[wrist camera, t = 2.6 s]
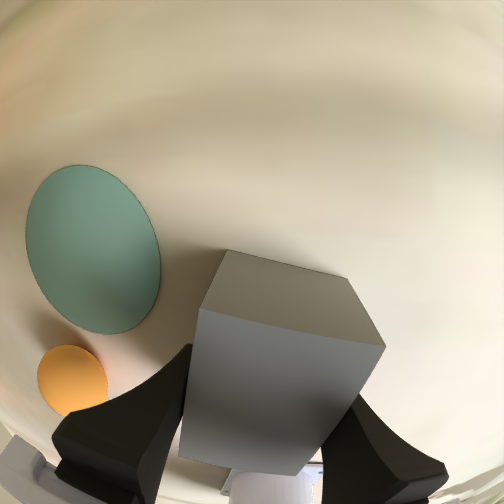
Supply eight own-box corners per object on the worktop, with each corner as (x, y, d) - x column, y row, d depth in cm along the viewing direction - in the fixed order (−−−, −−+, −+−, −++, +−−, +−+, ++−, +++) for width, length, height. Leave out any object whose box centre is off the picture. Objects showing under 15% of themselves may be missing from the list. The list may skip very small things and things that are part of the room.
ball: (121, 396, 17) (94, 444, 12) (67, 371, 17) (35, 411, 12) (117, 346, 16) (79, 398, 11) (58, 320, 15) (14, 360, 11)
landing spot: (154, 353, 15) (153, 355, 15) (33, 302, 15) (31, 304, 15) (175, 181, 12) (173, 181, 12) (31, 158, 12) (28, 158, 12)
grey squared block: (292, 403, 16) (295, 476, 11) (199, 383, 16) (178, 456, 11) (347, 278, 13) (386, 346, 8) (227, 249, 13) (199, 308, 8)
